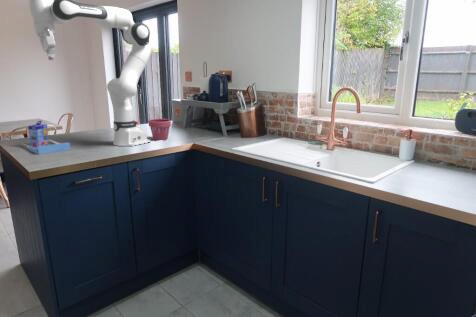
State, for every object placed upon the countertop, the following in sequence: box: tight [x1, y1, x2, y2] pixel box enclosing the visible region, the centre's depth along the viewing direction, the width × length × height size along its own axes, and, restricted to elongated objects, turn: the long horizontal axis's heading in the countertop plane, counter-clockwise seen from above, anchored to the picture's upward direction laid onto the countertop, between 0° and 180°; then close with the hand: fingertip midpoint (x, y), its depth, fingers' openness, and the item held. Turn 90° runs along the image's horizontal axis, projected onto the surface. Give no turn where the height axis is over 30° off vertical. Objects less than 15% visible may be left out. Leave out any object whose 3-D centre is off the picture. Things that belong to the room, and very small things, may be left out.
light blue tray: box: [19, 139, 71, 155], centre depth 187 cm, size 16×31×4 cm, turn 47°
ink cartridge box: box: [27, 120, 50, 148], centre depth 191 cm, size 10×6×14 cm, turn 177°
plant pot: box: [148, 118, 172, 141], centre depth 215 cm, size 14×14×13 cm
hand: (51, 58), depth 166 cm, fingers open, 8 cm apart
